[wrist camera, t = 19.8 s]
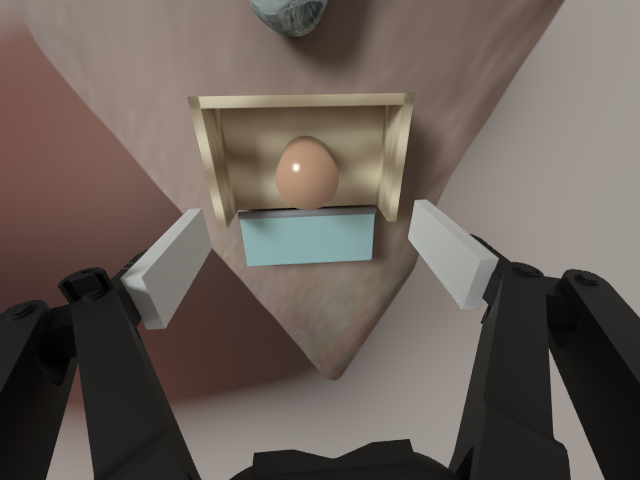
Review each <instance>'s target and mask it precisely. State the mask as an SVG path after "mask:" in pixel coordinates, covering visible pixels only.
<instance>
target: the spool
mask: <svg viewBox="0 0 640 480" xmlns="http://www.w3.org/2000/svg"><path fill="white" fill-rule="evenodd" d="M327 1H328V0H249V2H250V5H251V7H252V9H253V10H254V12H255V13H256V15H257V16H258V17H259V18H260V19H261V20H262V21H263V22H264V23H265V24H266V25H267V26H268V27H270V28H271V29H273V30H274V31H276V32H278V33H280V34H284V35H288V36H292V37H299V36H304V35H306V34H309V33H310V32H311V31H313V29H314V28H315V27H316V26H317V25H318V24H319V22H320V19H321V17H322V15H323V12H324V10H325V7H326V4H327Z"/></svg>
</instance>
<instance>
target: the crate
mask: <svg viewBox="0 0 640 480" xmlns="http://www.w3.org/2000/svg"><path fill="white" fill-rule="evenodd" d="M414 94H415V93H385V94H327V95H268V96H209V97H188V101H189V105H190V110H191V114H192V118H193V122H194V126H195V131H196V135H197V139H198V143H199V147H200V152H201V156H202V160H203V164H204V168H205V173H206V177H207V181H208V185H209V189H210V194H211V198H212V202H213V206H214V210H215V215H216V219H217V223H218V227H219V229H227V228H228V226H229V225H230V223H231V221H232V219H233V218H234V216H235V214H236V212H237V211H238V210H246V209H271V208H295V207H293V206H291V205H289V204H288V203H287V202H286V201H285V200H284V199H283V198H282V197H281V195H280V194H279V192H278V189H277V186H276V171H277V168H278V165H279V162H280V159H281V156H282V153H283V150H284V148H285V146H286V145H287V144H288V143H289V142H290V141H291V140H292V139H294V138H296V137H299V136H312V137H315V138H317V139H319V140H320V141H321V142H322V143H323V144H324V145H325V146H326V148H327V150H328V152H329V153H330V155H331V157H332V159H333V161H334V163H335V165H336V167H337V170H338V174H339V184H338V188H337V191H336V193H335V195H334V196H333V198H332V199H331V200H330V201H329V202H328V203H327V204H325V205H324V206H347V205H372V204H376V205H377V207H378V208H379V209H380V211H381V212H382V214H383V215H384V216H385V218H386V219H387V221H388V222H390V221H396V218H397V211H398V204H399V197H400V190H401V183H402V177H403V170H404V163H405V156H406V149H407V142H408V135H409V129H410V122H411V115H412V108H413V101H414Z"/></svg>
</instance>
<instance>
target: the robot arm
mask: <svg viewBox="0 0 640 480" xmlns="http://www.w3.org/2000/svg"><path fill="white" fill-rule="evenodd" d="M408 239H409V240H410V242H411V243H412V244H413V246H414V247H415V248H416V249H417V251H418V252H419V253H420V255H421V256H422V257H423V259H424V260H425V261H426V263H427V264H428V265H429V267H430V268H431V269H432V271H433V272H434V273H435V275H436V276H437V277H438V279H439V280H440V281H441V282H442V284H443V285H444V286H445V288H446V289H447V290H448V292H449V293H450V294H451V296H452V297H453V298H454V300H455V301H456V302H457V304H458V305H459V306H460V307H461V309H462V310H466V309H478V308H479V306H480V304H481V301H482V299H484V300H485V301H486V302H487V304H488V307H487V309H486V312H485V314H484V316H483V318H482V321H481V323H482V324H483V326H482V330H481V334H480V339H479V344H478V348H477V352H476V357H475V361H474V366H473V370H472V375H471V379H470V384H469V389H468V393H467V397H466V402H465V406H464V411H463V415H462V419H461V424H460V428H459V433H458V437H457V442H456V446H455V450H454V454H453V456H452V459H451V462H450V465H449V468H446V467H445V466H444V465H442V464H441V463H439V462H437V461H436V460H434V459H432V458H430V457H428V456H425V455H423V454H420V453H416V452H413V449H412V446H411V442H410V439H404V440H393V441H381V442H372V443H370V444H367V445H365V446H363V447H361V448H358V449H356V450H354V451H352V452H349V453H347V454H345V455H343V456H340V457H338V458H333V459H332V458H327V457H323V456H319V455H314V454H310V453H306V452H302V451H298V450H280V451H270V452H259V453H254V457H253V465H252V466H251V467H249V468H247V469H245V470H243V471H241V472H240V473H238V474H236V475H235V476H234V477H232V478H231V479H230V480H571V478H570V467H569V459H568V454H567V450H566V448H565V446H564V445H563V444H562V443H560V442H558V441H556V440H555V439H554V436H553V423H552V422H553V421H552V404H551V384H550V366H549V349H550V351H551V354H552V356H553V358H554V361H555V363H556V366H557V367H558V370H559V373H560V375H561V377H562V380H563V382H564V384H565V387H566V389H567V391H568V394H569V396H570V399H571V401H572V403H573V406H574V408H575V410H576V413H577V415H578V417H579V420H580V422H581V424H582V427H583V429H584V432H585V434H586V436H587V439H588V441H589V443H590V446H591V448H592V450H593V453H594V455H595V457H596V460H597V462H598V464H599V467H600V469H601V472H602V474H603V476H604V479H605V480H640V318H639V317H638V315H637V314H636V313H635V312H634V311H633V310H632V309H631V308H630V306H629V305H628V304H627V303H626V302H625V301H624V300H623V299H622V297H621V296H620V295H619V294H618V293H617V292H616V291H615V289H614V288H613V287H612V286H611V285H610V284H609V283H608V282H607V281H605V280H604V279H603V278H601V277H599V276H598V275H596V274H594V273H591V272H588V271H582V270H576V269H571V270H566V271H565V272H564V274H563V276H562V278H561V279H560V278H553V277H545V276H544V275H543V273H542V272H541V271H540V270H538V269H536V268H534V267H533V266H530V265H527V264H523V263H519V262H510V261H509V260H508V259H506V258H505V257H504V256H502V255H501V254H500V253H498V252H497V251H496V250H495V249H493V248H492V247H491V246H490V245H488V244H487V243H486V242H485V241H483V240H482V239H481V238H479V237H477V236H475V235H472V234H468V233H467V232H466V231H464V230H463V229H462V228H461V227H460V226H458V225H457V224H456V223H455V222H453V221H452V220H451V219H450V218H449V217H447V216H446V215H445V214H444V213H443V212H441V211H440V210H439V209H437V208H436V207H435V206H434V205H433V204H432V203H430V202H429V201H428V200H415V203H414V208H413V214H412V219H411V225H410V230H409V236H408ZM211 249H212V244H211V241H210V237H209V233H208V229H207V226H206V222H205V218H204V214H203V211H202V209H188V210H187V211H186V212H185V213H184V214H183V215H182V217H181V218H180V219H179V220H178V221H177V222H176V223H175V224H174V225H173V226H172V227H171V228H170V229H169V230H168V231H167V232H166V233H165V234H164V235H163V236H162V237H161V238H160V239H159V240H158V241H157V242H156V243H155V244H154V245H153V246H152V247H151V248H150V249H149V250H145V251H143V252H141V253H139V254H138V255H136V256H135V257H134V258H133V259H132V260H131V261H129V264H126V265H125V266H124V267H123V269H121V270H120V271H119V272H118V273H117V274H116V275H115V276H114V277H113V278H112V279H111V280H110V279H109V277H108V275H107V273H106V271H105V270H104V269H103V268H99V267H94V268H88V269H84V270H80V271H78V272H75V273H73V274H71V275H69V276H67V277H65V278H64V279H63V280H62V281H61V282H60V283H59V285H58V288H59V289H60V290H61V292H62V293H63V295H64V296H65V298H66V299H67V301H68V302H69V304H68V305H64V306H60V307H55V308H52V309H50V308H49V307H48V305H47V304H46V303H45V302H44V301H42V300H32V301H27V302H24V303H21V304H17V305H14V306H13V307H10V308H8V309H6V310H5V311H4V312H2V313H1V314H0V480H46V477H47V473H48V470H49V466H50V463H51V459H52V455H53V452H54V448H55V444H56V441H57V437H58V433H59V430H60V426H61V423H62V419H63V416H64V412H65V408H66V404H67V401H68V397H69V394H70V390H71V387H72V383H73V379H74V376H75V372H76V368H77V365H79V372H80V379H81V386H82V393H83V400H84V408H85V414H86V422H87V428H88V436H89V443H90V450H91V458H92V465H93V471H94V480H201V478H200V476H199V474H198V471H197V469H196V467H195V464H194V462H193V460H192V457H191V455H190V452H189V450H188V448H187V445H186V443H185V441H184V438H183V436H182V433H181V431H180V429H179V426H178V424H177V421H176V419H175V417H174V414H173V412H172V410H171V407H170V405H169V403H168V400H167V398H166V395H165V393H164V391H163V388H162V386H161V383H160V382H159V379H158V376H157V374H156V372H155V369H154V367H153V365H152V362H151V360H150V357H149V355H148V353H147V350H146V348H145V345H144V343H143V341H142V338H141V336H140V334H139V332H138V330H137V328H136V327H137V326H138V324H139V323H140V321H141V320H142V321H143V323H144V325H145V327H146V329H163V328H166V326H167V325H168V323H169V321H170V319H171V318H172V316H173V314H174V313H175V311H176V309H177V307H178V306H179V304H180V302H181V300H182V298H183V297H184V295H185V294H186V292H187V290H188V288H189V287H190V285H191V283H192V282H193V280H194V278H195V277H196V275H197V273H198V271H199V269H200V268H201V266H202V264H203V263H204V261H205V259H206V257H207V256H208V254H209V252H210V251H211ZM548 347H549V348H548Z"/></svg>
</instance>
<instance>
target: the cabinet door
mask: <svg viewBox="0 0 640 480" xmlns="http://www.w3.org/2000/svg"><path fill="white" fill-rule="evenodd" d="M375 215H376V207H353V208H328V209H313V210H279V211H254V212H238V219H239V220H240V222H241V228H242V235H243V241H244V247H245V254H246V260H247V266H260V265H279V264H299V263H318V262H338V261H357V260H372V245H373V230H374V216H375Z"/></svg>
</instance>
